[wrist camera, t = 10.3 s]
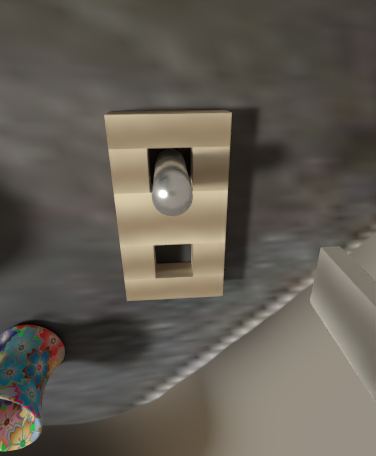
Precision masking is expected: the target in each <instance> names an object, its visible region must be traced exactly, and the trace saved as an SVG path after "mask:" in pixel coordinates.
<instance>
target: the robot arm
mask: <svg viewBox="0 0 376 456" xmlns="http://www.w3.org/2000/svg"><path fill="white" fill-rule="evenodd" d="M310 303H311V304H312V306H313V308H314V309H315V311H316V312H317V314H318V315H319V317H320V318H321V320H322V321H323V323H324V325H325V326H326V328H327V329H328V330H329V332H330V334H331V335H332V337H333V338H334V340H335V341H336V343H337V345H338V346H339V348H340V349H341V351H342V352H343V353H344V355H345V357H346V358H347V360H348V362H349V363H350V364H351V366H352V368H353V369H354V371H355V372H356V374H357V375H358V377H359V378H360V380H361V382H362V383H363V385H364V386H365V388H366V389H367V391H368V392H369V394H370V395H371V397H372V398H373V400H374V402H375V403H376V281H375V280H374V279H373V278H372V277H371V276H370V275H369V274H368V273H367V272H366V271H365V270H364V269H363V268H362V267H361V266H360V265H359V264H358V263H356V262H355V261H354V260H353V259H352V258H351V257H350V256H349V255H348V254H347V253H346V252H345V251H344V250H343V249H342V248H341V247H340V246H336V247H321V249H320V254H319V259H318V264H317V269H316V274H315V279H314V284H313V290H312V295H311V299H310Z"/></svg>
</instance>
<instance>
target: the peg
mask: <svg viewBox="0 0 376 456" xmlns="http://www.w3.org/2000/svg"><path fill="white" fill-rule="evenodd" d="M192 200H193V193H192V189H191V185H190V181H189V177H188V172H187V168H186V164H185V160H184V157H183V156H182V154H181V153H180V152H179V151H177V150H174V149H166V150H163V151H162V152H160V153H159V155H158V156H157V158H156V163H155V172H154V181H153V190H152V202H153V204H154V206H155V208H156V209H157V210H158V211H159V212H160V213H162V214H164V215H167V216H178V215H181V214H183V213H184V212H186V211H187V210H188V209H189V207H190V206H191V204H192Z"/></svg>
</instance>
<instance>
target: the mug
mask: <svg viewBox="0 0 376 456" xmlns="http://www.w3.org/2000/svg"><path fill="white" fill-rule="evenodd" d="M64 355H65V348H64V345H63V343H62V341H61V340H60V338H59V337H58V336H57V335H56V334H55V333H53V332H52V331H50V330H48V329H46V328H43V327H40V326H36V325H18V326H14V327H12V328H9V329H7V330H6V331H4V332H3V333H2V334H1V335H0V451H10V450H16V449H20V448H23V447H25V446H27V445H29V444H31V443H32V442H34V441H35V440H36V439H37V438H38V436H39V435H40V433H41V431H42V427H43V422H42V399H43V394H44V390H45V386H46V383H47V381H48V379H49V377H50V375H51V373H52V372H53V371H54V369H55V368H56V367H58V366H59V365H60V364H61V362H62V361H63V359H64Z"/></svg>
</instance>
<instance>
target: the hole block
mask: <svg viewBox="0 0 376 456" xmlns="http://www.w3.org/2000/svg"><path fill="white" fill-rule="evenodd" d="M104 117H105V125H106V133H107V141H108V149H109V158H110V166H111V174H112V182H113V190H114V198H115V206H116V215H117V223H118V231H119V239H120V247H121V255H122V263H123V272H124V280H125V288H126V296H127V301H134V300H153V299H172V298H192V297H211V296H223V277H224V257H225V237H226V217H227V197H228V178H229V158H230V138H231V118H232V113H231V112H229V111H227V110H180V111H119V112H108V113H107V114H105V115H104ZM186 147H191V182H190V185H191V189H192V193H193V200H192V204H191V206H190V207H189V209H188V210H187V211H186V212H184V213H183V214H181V215H178V216H167V215H164V214H162V213H160V212H159V211H158V210H157V209H156V208H155V206H154V204H153V202H152V190H153V183H151V176H150V161H149V148H186ZM173 244H191V262H184V263H162V264H156V253H155V245H173Z"/></svg>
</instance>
